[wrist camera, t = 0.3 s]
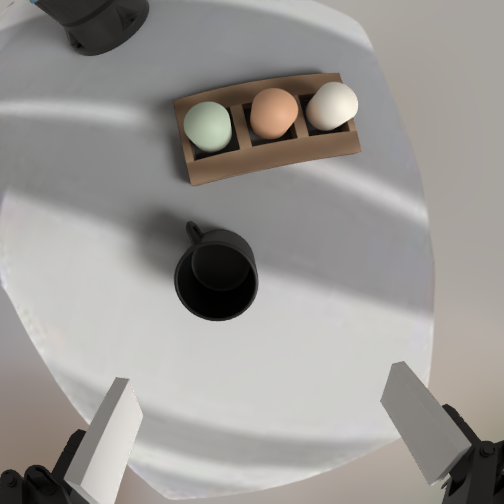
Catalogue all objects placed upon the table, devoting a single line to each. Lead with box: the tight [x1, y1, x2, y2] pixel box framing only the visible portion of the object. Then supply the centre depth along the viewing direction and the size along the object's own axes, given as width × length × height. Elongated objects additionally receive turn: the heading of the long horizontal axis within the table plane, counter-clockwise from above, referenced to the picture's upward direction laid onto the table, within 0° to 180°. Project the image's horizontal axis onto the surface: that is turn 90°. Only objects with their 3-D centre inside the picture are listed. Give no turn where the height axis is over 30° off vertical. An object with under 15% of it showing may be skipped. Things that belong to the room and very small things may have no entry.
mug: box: [174, 221, 258, 321], centre depth 34 cm, size 9×12×9 cm
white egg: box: [306, 82, 358, 131], centre depth 29 cm, size 5×5×6 cm
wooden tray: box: [173, 73, 362, 186], centre depth 33 cm, size 12×23×3 cm, turn 103°
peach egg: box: [250, 88, 298, 140], centre depth 29 cm, size 5×5×6 cm
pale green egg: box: [184, 102, 232, 152], centre depth 29 cm, size 5×5×6 cm
